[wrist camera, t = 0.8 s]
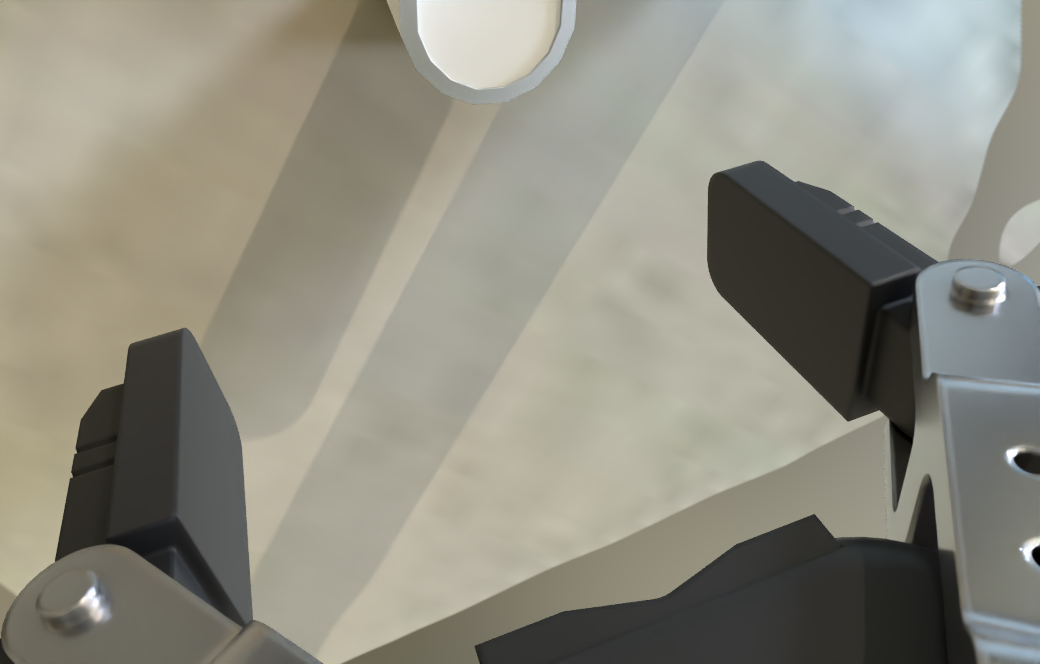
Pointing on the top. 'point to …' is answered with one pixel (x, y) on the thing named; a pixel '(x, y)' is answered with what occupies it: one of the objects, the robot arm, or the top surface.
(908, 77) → the top surface
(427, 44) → the white cylinder
